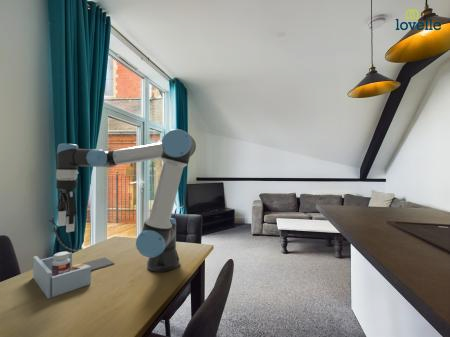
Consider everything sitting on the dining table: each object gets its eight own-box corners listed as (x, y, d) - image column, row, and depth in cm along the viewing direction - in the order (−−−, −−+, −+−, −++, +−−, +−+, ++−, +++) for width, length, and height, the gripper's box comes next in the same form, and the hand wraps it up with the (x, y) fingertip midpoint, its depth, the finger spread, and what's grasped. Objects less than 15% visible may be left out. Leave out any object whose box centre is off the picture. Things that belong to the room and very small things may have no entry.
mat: (114, 264, 112) (114, 262, 112) (89, 271, 104) (89, 270, 104) (104, 258, 119) (104, 257, 119) (81, 264, 111) (81, 263, 111)
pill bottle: (59, 285, 91) (59, 257, 91) (48, 283, 93) (48, 255, 93) (73, 278, 97) (73, 251, 97) (62, 276, 99) (63, 250, 99)
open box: (90, 283, 93) (90, 261, 93) (47, 298, 82) (48, 273, 82) (71, 267, 108) (71, 248, 108) (33, 277, 98) (33, 256, 98)
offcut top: (89, 269, 101) (89, 265, 101) (81, 273, 98) (81, 268, 98) (79, 267, 103) (79, 263, 103) (71, 270, 100) (71, 266, 100)
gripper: (86, 180, 93) (84, 232, 93) (69, 178, 110) (68, 222, 110) (64, 181, 88) (62, 236, 88) (50, 178, 105) (48, 224, 105)
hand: (65, 228), depth 99 cm, fingers open, 13 cm apart
